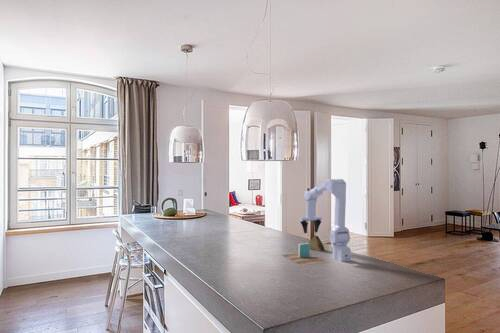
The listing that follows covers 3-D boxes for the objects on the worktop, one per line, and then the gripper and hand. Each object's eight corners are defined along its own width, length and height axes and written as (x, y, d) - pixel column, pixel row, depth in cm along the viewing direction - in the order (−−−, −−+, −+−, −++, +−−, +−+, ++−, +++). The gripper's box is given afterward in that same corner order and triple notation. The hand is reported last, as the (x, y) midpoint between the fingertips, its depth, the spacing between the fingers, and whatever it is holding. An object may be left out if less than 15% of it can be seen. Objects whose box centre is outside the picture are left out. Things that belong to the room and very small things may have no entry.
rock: (301, 246, 201) (310, 247, 192) (307, 234, 204) (316, 234, 195) (314, 255, 204) (323, 257, 195) (320, 243, 207) (329, 245, 198)
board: (328, 264, 170) (328, 262, 170) (301, 267, 164) (301, 265, 164) (305, 254, 191) (305, 252, 191) (280, 256, 185) (280, 254, 185)
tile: (309, 256, 181) (309, 243, 181) (300, 257, 179) (300, 244, 179) (307, 255, 183) (307, 243, 183) (298, 256, 181) (298, 243, 181)
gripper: (317, 209, 210) (317, 230, 210) (297, 210, 205) (297, 232, 205) (323, 210, 204) (323, 232, 204) (303, 211, 198) (303, 234, 198)
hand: (310, 232), depth 204 cm, fingers open, 7 cm apart
